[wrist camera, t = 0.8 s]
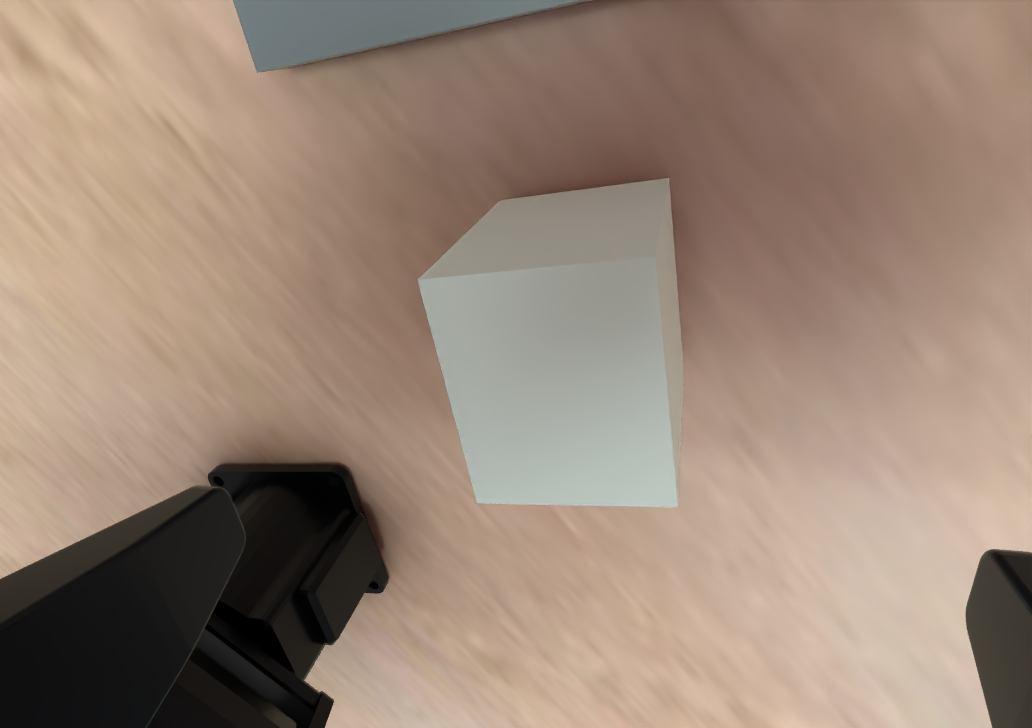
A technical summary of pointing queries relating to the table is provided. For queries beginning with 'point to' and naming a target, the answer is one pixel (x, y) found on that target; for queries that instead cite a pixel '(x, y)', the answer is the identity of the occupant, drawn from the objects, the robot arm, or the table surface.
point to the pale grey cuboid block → (565, 347)
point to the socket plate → (361, 24)
